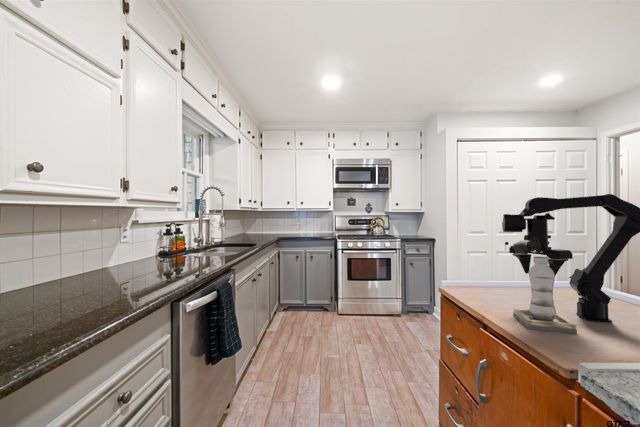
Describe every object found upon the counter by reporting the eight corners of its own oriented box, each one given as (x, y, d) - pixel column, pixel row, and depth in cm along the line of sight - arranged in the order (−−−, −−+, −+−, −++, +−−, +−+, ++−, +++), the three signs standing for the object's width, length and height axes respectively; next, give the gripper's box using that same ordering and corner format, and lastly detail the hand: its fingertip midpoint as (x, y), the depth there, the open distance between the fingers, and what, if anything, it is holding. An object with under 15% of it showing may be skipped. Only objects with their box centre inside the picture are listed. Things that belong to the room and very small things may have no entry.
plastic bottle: (526, 315, 90) (524, 255, 90) (552, 317, 87) (549, 256, 88) (532, 321, 84) (530, 258, 84) (560, 324, 81) (557, 259, 82)
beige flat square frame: (555, 318, 89) (555, 311, 89) (576, 333, 78) (576, 325, 78) (513, 315, 93) (513, 308, 93) (527, 328, 82) (527, 320, 82)
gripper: (496, 231, 104) (497, 272, 104) (544, 234, 86) (546, 283, 85) (520, 231, 106) (522, 270, 106) (573, 233, 88) (574, 281, 87)
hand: (538, 275), depth 96 cm, fingers open, 9 cm apart
